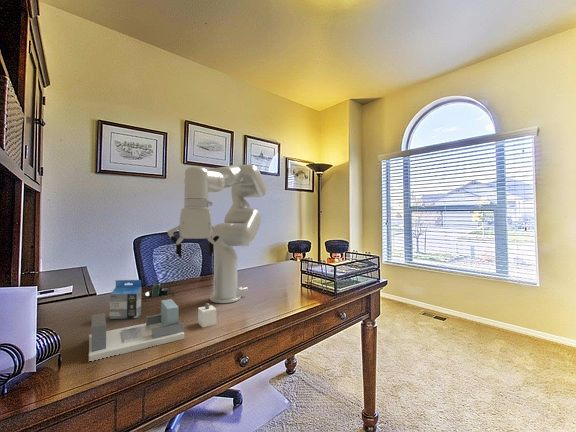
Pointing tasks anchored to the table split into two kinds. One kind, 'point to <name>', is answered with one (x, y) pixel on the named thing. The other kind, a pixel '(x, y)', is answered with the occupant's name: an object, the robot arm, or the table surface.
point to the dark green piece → (160, 290)
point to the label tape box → (126, 300)
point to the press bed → (131, 330)
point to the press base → (118, 346)
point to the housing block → (207, 315)
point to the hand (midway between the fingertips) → (195, 255)
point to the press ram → (169, 312)
